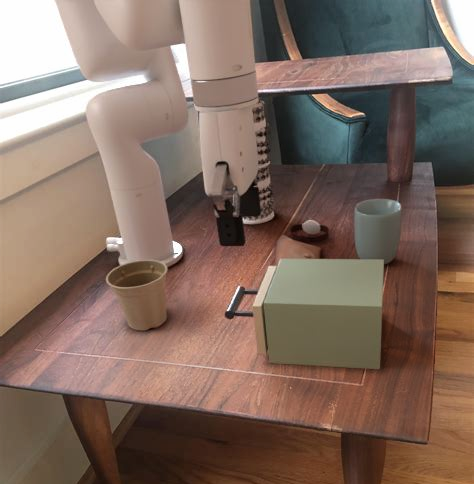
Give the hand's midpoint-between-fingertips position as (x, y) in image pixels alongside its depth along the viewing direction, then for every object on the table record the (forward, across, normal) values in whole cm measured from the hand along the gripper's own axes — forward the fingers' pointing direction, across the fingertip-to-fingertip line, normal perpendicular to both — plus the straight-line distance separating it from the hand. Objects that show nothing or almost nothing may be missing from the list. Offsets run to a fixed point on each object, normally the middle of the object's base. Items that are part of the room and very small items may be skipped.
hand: (241, 229), depth 72 cm
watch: (+17, -34, +4) cm, 38 cm away
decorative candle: (+16, -46, -9) cm, 50 cm away
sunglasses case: (+17, -20, +4) cm, 26 cm away
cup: (+17, -25, +17) cm, 34 cm away
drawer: (+16, 0, +6) cm, 17 cm away
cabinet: (+17, 0, +11) cm, 20 cm away
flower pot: (+17, -3, -18) cm, 25 cm away
